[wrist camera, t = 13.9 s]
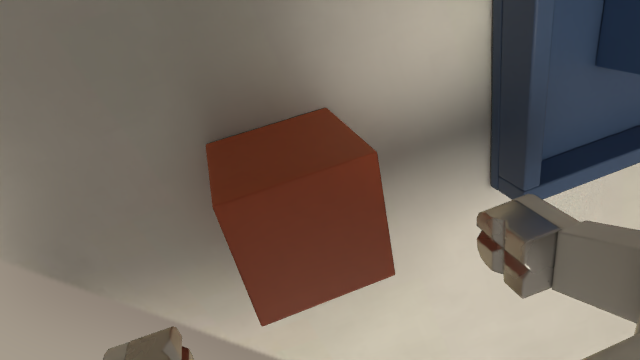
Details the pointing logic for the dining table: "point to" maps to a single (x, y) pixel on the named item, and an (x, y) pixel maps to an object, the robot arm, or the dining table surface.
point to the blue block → (620, 36)
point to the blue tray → (557, 99)
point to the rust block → (300, 212)
